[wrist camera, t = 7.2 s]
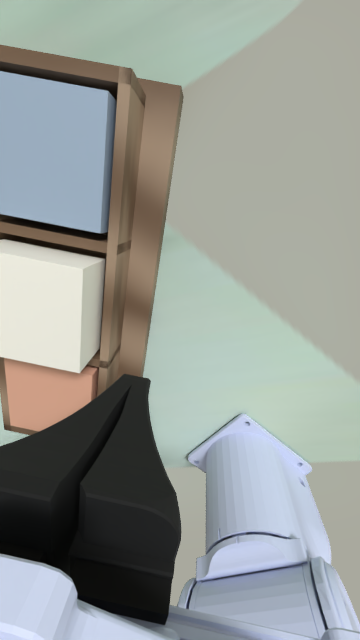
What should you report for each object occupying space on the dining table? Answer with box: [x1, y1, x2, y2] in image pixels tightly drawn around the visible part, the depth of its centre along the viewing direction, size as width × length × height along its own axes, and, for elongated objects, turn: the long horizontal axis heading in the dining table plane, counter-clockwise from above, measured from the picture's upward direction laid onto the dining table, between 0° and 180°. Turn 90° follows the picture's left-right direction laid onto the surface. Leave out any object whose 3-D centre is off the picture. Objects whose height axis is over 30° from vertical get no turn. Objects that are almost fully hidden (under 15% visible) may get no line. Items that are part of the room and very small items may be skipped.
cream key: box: [0, 239, 105, 373], centre depth 16 cm, size 6×6×3 cm
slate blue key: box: [0, 71, 117, 233], centre depth 15 cm, size 6×6×3 cm
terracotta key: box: [4, 358, 99, 431], centre depth 21 cm, size 6×6×3 cm
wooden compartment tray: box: [0, 45, 183, 435], centre depth 19 cm, size 26×12×4 cm, turn 170°
